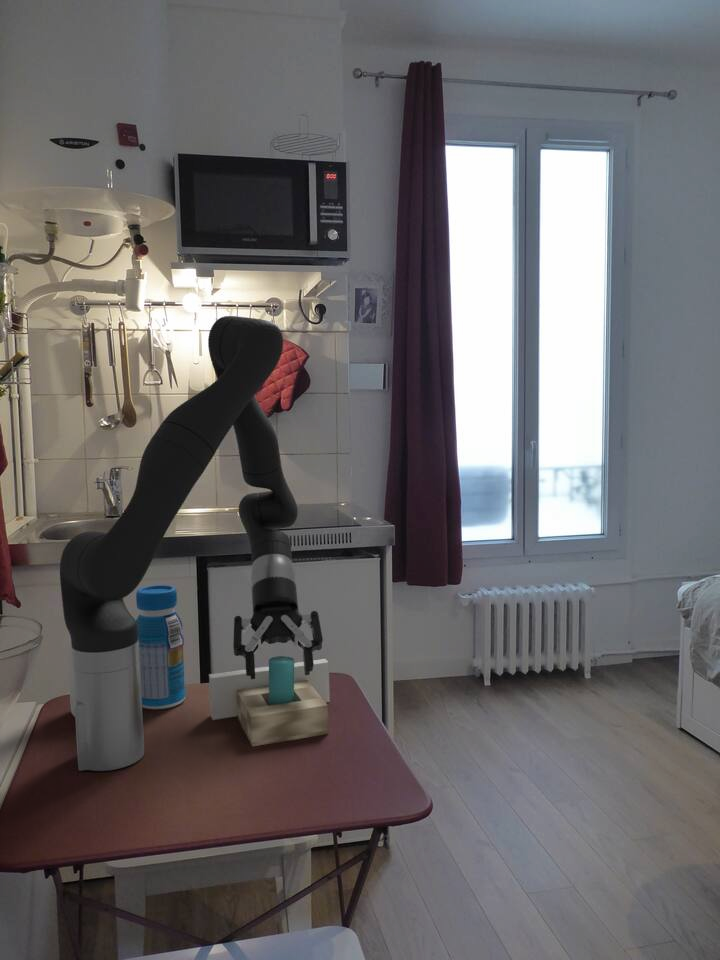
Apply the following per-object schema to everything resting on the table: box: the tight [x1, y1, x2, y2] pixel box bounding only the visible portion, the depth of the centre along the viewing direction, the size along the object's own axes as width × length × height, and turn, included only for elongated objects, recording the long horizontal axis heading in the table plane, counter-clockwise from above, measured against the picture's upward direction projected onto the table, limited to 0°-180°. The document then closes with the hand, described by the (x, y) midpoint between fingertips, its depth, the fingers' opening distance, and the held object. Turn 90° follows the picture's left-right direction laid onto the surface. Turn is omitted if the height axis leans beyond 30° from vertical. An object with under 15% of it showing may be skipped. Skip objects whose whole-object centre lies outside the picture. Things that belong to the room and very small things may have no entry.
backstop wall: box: [208, 658, 331, 721], centre depth 133 cm, size 20×2×7 cm, turn 109°
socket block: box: [237, 680, 330, 747], centre depth 126 cm, size 12×12×5 cm
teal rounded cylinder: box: [268, 655, 295, 706], centre depth 125 cm, size 4×4×10 cm
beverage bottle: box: [135, 584, 186, 710], centre depth 136 cm, size 8×8×20 cm
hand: (280, 675), depth 124 cm, fingers open, 8 cm apart
